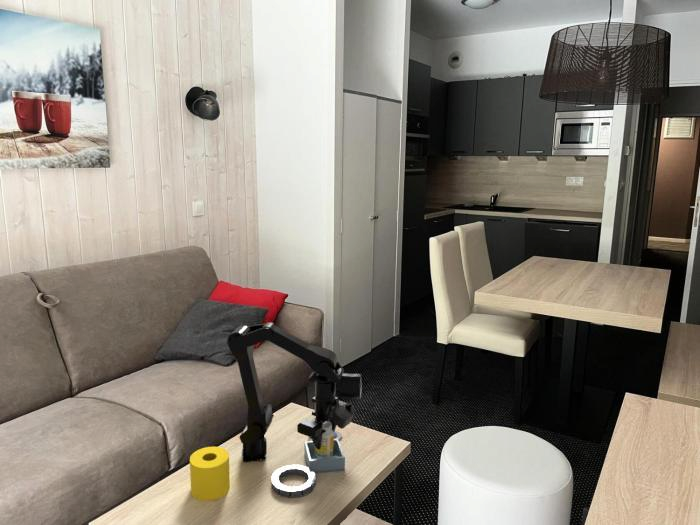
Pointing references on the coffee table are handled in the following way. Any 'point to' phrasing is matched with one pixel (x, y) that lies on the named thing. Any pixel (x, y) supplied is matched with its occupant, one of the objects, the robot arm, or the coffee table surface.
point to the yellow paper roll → (209, 473)
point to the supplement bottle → (326, 442)
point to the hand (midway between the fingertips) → (324, 444)
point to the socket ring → (293, 491)
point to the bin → (325, 464)
